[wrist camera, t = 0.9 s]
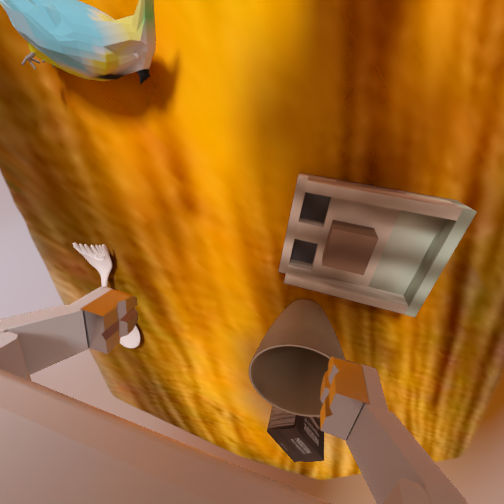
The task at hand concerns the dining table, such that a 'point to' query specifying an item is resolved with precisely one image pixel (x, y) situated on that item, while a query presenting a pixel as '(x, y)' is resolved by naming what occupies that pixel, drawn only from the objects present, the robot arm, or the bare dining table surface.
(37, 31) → the decorative bird
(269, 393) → the plant pot
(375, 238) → the walnut block
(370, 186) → the tray
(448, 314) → the dining table surface
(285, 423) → the coffee box
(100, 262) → the white plastic spork
